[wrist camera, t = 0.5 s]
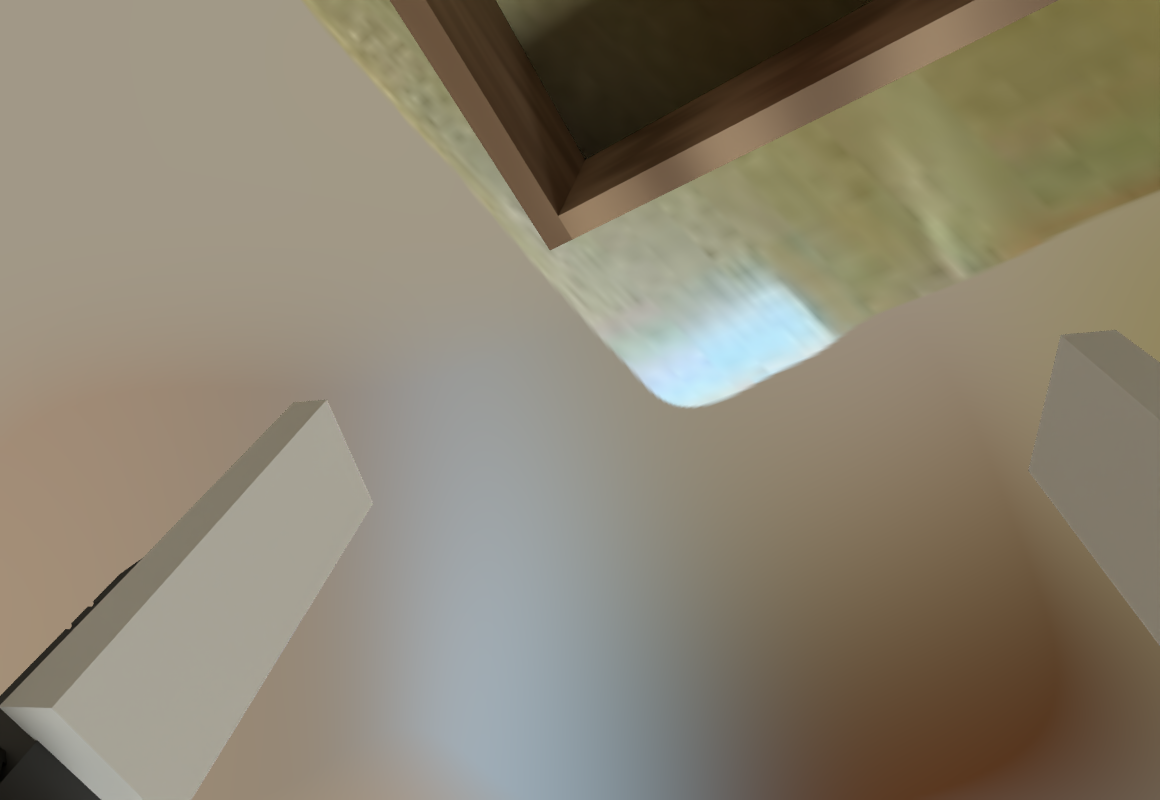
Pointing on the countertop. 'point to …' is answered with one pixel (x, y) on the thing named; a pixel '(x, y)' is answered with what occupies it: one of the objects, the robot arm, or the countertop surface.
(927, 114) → the countertop surface
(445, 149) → the countertop surface
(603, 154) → the box
